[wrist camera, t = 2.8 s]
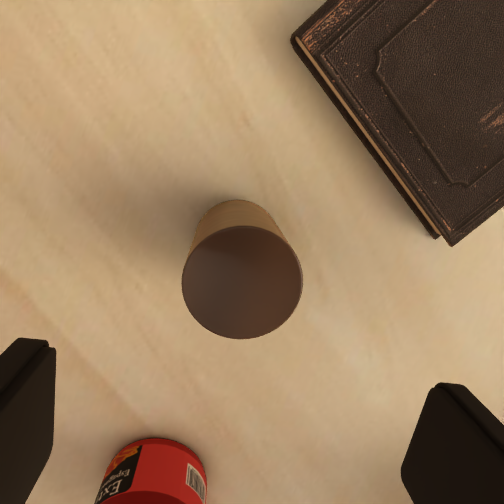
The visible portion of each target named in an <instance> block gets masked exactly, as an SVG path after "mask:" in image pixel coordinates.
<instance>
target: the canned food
mask: <svg viewBox="0 0 504 504" xmlns="http://www.w3.org/2000/svg"><path fill="white" fill-rule="evenodd" d="M206 491H207V482H206V476H205V472H204V469H203V466H202V463H201V461H200V460H199V458H198V457H197V455H196V454H195V453H194V452H193V451H192V450H190V449H189V448H187V447H186V446H184V445H182V444H180V443H178V442H175V441H172V440H168V439H160V438H152V439H144V440H139V441H137V442H134V443H132V444H130V445H128V446H126V447H125V448H123V449H122V450H121V451H120V452H119V453H118V454H117V455H116V457H115V458H114V459H113V460H112V462H111V463H110V465H109V466H108V468H107V470H106V473H105V476H104V478H103V481H102V484H101V486H100V489H99V492H98V495H97V497H96V500H95V503H94V504H206Z"/></svg>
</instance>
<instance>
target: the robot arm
mask: <svg viewBox="0 0 504 504" xmlns="http://www.w3.org/2000/svg"><path fill="white" fill-rule="evenodd" d="M55 377H56V349H55V348H52V347H49V344H48V341H46V340H39V339H29V338H18V339H17V340H15V341H14V342H13V343H12V344H11V345H10V346H9V347H8V348H7V349H6V350H5V351H4V352H3V353H2V354H1V355H0V504H25V502H26V500H27V499H28V497H29V495H30V493H31V491H32V489H33V487H34V485H35V484H36V482H37V480H38V478H39V476H40V474H41V472H42V470H43V469H44V467H45V465H46V463H47V461H48V459H49V456H50V454H51V450H52V446H53V434H54V405H55ZM401 478H402V482H403V484H404V486H405V488H406V490H407V492H408V493H409V495H410V497H411V499H412V501H413V503H414V504H504V425H503V424H502V423H501V422H500V421H499V420H498V419H497V418H496V417H495V416H494V415H493V414H492V413H491V412H490V411H489V410H488V409H487V408H486V407H485V406H484V405H483V404H482V403H481V402H480V401H479V400H478V399H477V398H476V397H475V396H474V395H473V394H472V393H471V392H470V391H469V390H468V389H467V388H466V387H465V386H463V385H460V384H451V383H442V382H441V383H438V384H437V385H435V387H434V388H431V389H430V391H429V393H428V395H427V398H426V401H425V404H424V406H423V409H422V412H421V414H420V417H419V420H418V423H417V425H416V428H415V431H414V433H413V436H412V439H411V442H410V444H409V447H408V450H407V452H406V455H405V458H404V461H403V463H402V466H401Z"/></svg>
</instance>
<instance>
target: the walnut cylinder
mask: <svg viewBox="0 0 504 504" xmlns="http://www.w3.org/2000/svg"><path fill="white" fill-rule="evenodd" d="M302 287H303V275H302V269H301V265H300V262H299V260H298V257H297V256H296V254H295V252H294V251H293V249H292V248H291V246H290V245H289V243H288V241H287V240H286V238H285V237H284V235H283V234H282V232H281V231H280V229H279V228H278V226H277V225H276V223H275V222H274V220H273V219H272V217H271V216H270V215H269V214H268V213H267V212H266V211H265V210H264V209H263V208H261V207H260V206H258V205H256V204H254V203H252V202H249V201H244V200H231V201H226V202H222V203H220V204H218V205H216V206H214V207H213V208H211V209H210V210H209V211H208V212H207V213H206V214H205V215H204V216H203V217H202V219H201V220H200V222H199V224H198V227H197V229H196V232H195V235H194V238H193V242H192V245H191V248H190V251H189V254H188V257H187V260H186V263H185V266H184V269H183V274H182V293H183V297H184V300H185V303H186V306H187V308H188V309H189V311H190V313H191V314H192V316H193V317H194V318H195V319H196V320H197V321H198V322H199V323H200V324H201V325H202V326H203V327H205V328H206V329H208V330H209V331H211V332H213V333H215V334H217V335H220V336H223V337H227V338H232V339H250V338H256V337H259V336H263V335H265V334H267V333H270V332H271V331H273V330H275V329H277V328H278V327H279V326H281V325H282V324H283V323H284V322H285V321H286V320H287V319H288V318H289V317H290V316H291V314H292V313H293V311H294V310H295V308H296V307H297V304H298V302H299V300H300V297H301V293H302Z"/></svg>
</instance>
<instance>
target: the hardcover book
mask: <svg viewBox="0 0 504 504" xmlns="http://www.w3.org/2000/svg"><path fill="white" fill-rule="evenodd" d="M290 41H291V44H292V46H293V49H294V50H295V52H296V53H297V55H298V56H299V57H300V59H301V60H302V61H303V63H304V64H305V65H306V67H307V68H308V69H309V71H310V72H311V73H312V75H313V76H314V78H315V79H316V80H317V82H318V83H319V84H320V86H321V87H322V88H323V90H324V91H325V92H326V94H327V95H328V97H329V98H330V99H331V101H332V102H333V103H334V105H335V106H336V107H337V109H338V110H339V111H340V113H341V114H342V115H343V117H344V118H345V120H346V121H347V122H348V124H349V125H350V126H351V128H352V129H353V130H354V132H355V133H356V134H357V136H358V137H359V139H360V140H361V141H362V143H363V144H364V145H365V147H366V148H367V149H368V151H369V152H370V153H371V155H372V156H373V157H374V159H375V160H376V162H377V163H378V164H379V166H380V167H381V168H382V170H383V171H384V172H385V174H386V175H387V176H388V178H389V179H390V181H391V182H392V183H393V185H394V186H395V187H396V189H397V190H398V191H399V193H400V194H401V195H402V197H403V198H404V199H405V201H406V202H407V204H408V205H409V206H410V208H411V209H412V210H413V212H414V213H415V214H416V216H417V217H418V218H419V220H420V221H421V223H422V224H423V225H424V227H425V228H426V229H427V231H428V232H429V233H430V235H431V236H432V237H433V239H435V240H436V239H437V238H438V237H439V236H441V235H442V236H443V238H444V239H445V240H446V242H447V243H448V244H449V246H451V247H453V246H454V245H455V244H457V243H458V242H459V241H460V240H462V239H463V238H464V237H465V236H467V235H468V234H469V233H470V232H472V231H473V230H474V229H476V228H477V227H478V226H479V225H481V224H482V223H483V222H484V221H486V220H487V219H488V218H489V217H491V216H492V215H493V214H494V213H496V212H497V211H498V210H500V209H501V208H502V207H503V206H504V0H327V1H326V2H325V3H324V4H323V5H322V6H321V7H320V8H319V9H318V10H317V11H316V12H315V13H314V14H313V15H312V16H311V17H310V18H308V19H307V20H306V21H305V22H304V23H303V24H302V25H301V26H300V27H299V28H298V29H297V30H296V31H295V32H294V33H293V34H292V35H291V38H290Z"/></svg>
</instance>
